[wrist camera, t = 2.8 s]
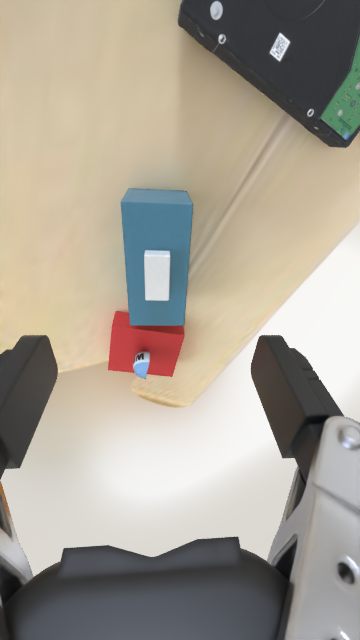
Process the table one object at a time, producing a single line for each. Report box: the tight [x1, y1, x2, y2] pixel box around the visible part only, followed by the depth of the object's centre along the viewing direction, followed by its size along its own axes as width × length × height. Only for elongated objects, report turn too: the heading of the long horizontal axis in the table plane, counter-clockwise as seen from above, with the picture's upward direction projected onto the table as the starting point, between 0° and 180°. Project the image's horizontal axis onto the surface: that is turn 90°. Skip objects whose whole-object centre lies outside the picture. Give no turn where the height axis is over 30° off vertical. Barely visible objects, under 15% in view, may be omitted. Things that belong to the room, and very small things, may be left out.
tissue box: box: [121, 189, 193, 326], centre depth 24 cm, size 5×11×7 cm, turn 177°
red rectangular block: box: [108, 312, 184, 379], centre depth 30 cm, size 8×7×6 cm
